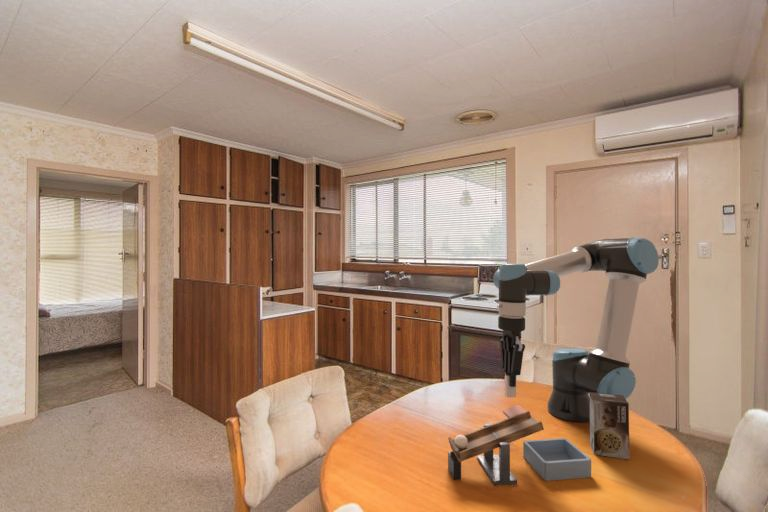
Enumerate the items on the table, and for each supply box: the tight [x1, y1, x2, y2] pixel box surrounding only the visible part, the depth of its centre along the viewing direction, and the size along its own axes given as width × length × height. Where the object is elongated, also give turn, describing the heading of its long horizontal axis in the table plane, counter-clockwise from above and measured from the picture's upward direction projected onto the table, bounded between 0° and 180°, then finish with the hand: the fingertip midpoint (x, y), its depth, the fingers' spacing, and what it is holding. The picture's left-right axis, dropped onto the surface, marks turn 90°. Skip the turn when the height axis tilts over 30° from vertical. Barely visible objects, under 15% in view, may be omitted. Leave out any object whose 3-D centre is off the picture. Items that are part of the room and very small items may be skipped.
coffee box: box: [589, 392, 631, 460], centre depth 109 cm, size 9×6×16 cm
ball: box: [453, 434, 468, 449], centre depth 99 cm, size 4×4×4 cm
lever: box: [448, 404, 545, 463], centre depth 103 cm, size 24×15×3 cm, turn 96°
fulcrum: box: [447, 423, 518, 486], centre depth 99 cm, size 16×12×10 cm
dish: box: [522, 437, 592, 482], centre depth 102 cm, size 13×12×4 cm
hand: (510, 396), depth 110 cm, fingers closed
